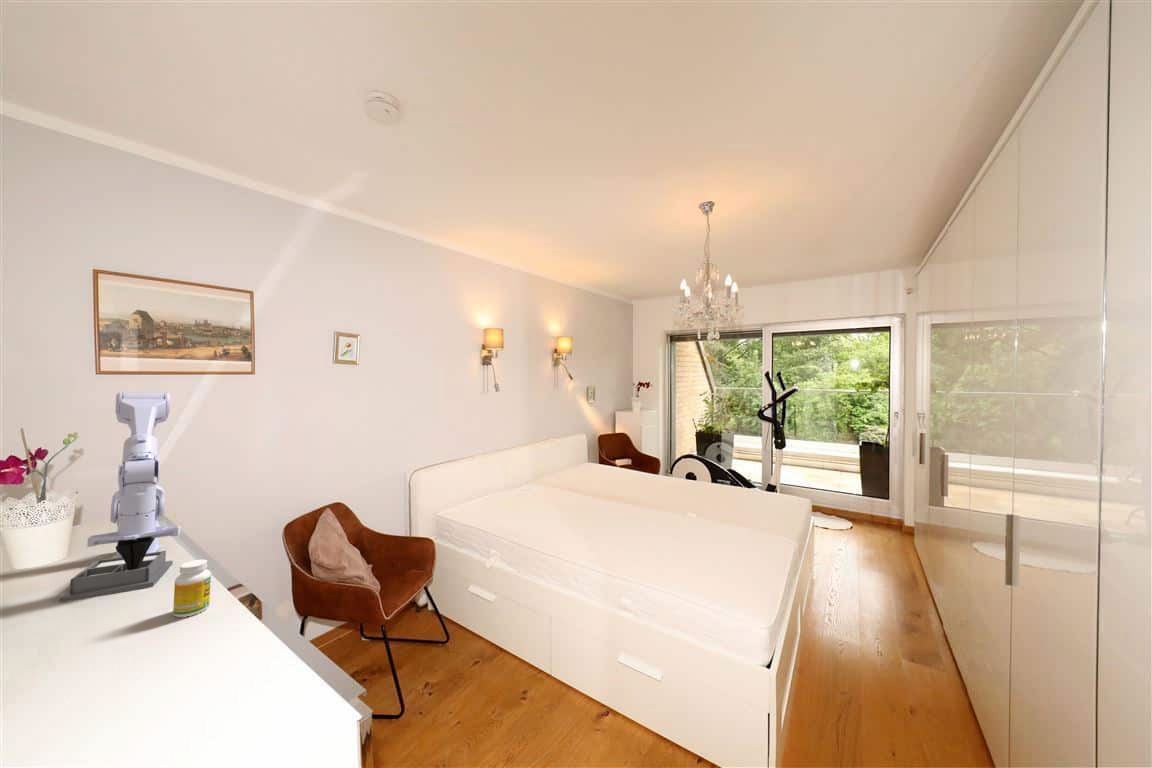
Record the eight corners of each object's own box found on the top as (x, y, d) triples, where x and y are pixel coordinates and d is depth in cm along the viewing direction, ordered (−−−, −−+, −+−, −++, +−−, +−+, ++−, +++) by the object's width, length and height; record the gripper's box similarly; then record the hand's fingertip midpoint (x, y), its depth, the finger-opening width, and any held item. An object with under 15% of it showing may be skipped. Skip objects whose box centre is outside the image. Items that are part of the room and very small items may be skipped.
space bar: (100, 569, 95) (101, 563, 95) (157, 561, 100) (158, 555, 100) (92, 576, 92) (93, 569, 92) (152, 567, 97) (152, 560, 97)
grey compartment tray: (90, 576, 96) (91, 559, 96) (172, 564, 103) (173, 548, 103) (58, 602, 84) (59, 583, 84) (153, 586, 91) (154, 568, 91)
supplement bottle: (174, 609, 82) (177, 562, 82) (210, 601, 85) (212, 555, 85) (171, 621, 78) (173, 571, 78) (208, 612, 81) (210, 564, 81)
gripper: (81, 521, 86) (78, 586, 85) (175, 512, 94) (172, 571, 93) (97, 513, 92) (94, 573, 91) (184, 505, 99) (181, 560, 99)
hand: (134, 571), depth 93 cm, fingers closed, pressing on terracotta key
